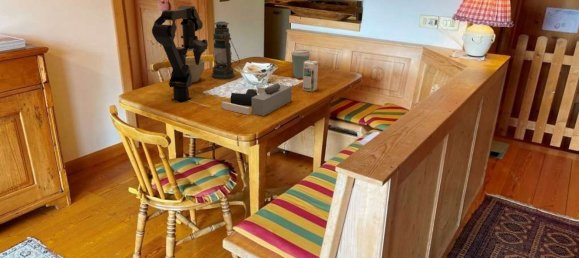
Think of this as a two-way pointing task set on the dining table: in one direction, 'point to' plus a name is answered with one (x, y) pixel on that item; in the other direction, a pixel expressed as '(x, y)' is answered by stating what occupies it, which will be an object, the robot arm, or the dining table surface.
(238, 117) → the dining table surface
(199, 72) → the planter bowl
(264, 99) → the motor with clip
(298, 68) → the disposable coffee cup
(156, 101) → the dining table surface
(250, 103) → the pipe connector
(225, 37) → the lantern
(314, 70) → the syrup box
